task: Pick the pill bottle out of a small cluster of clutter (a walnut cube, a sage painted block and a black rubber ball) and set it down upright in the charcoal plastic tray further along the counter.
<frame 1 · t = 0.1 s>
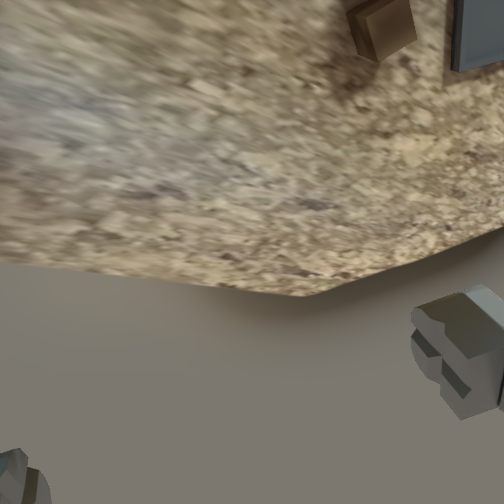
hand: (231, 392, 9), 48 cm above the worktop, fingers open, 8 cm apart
walnut cube: (370, 23, 54), on the worktop
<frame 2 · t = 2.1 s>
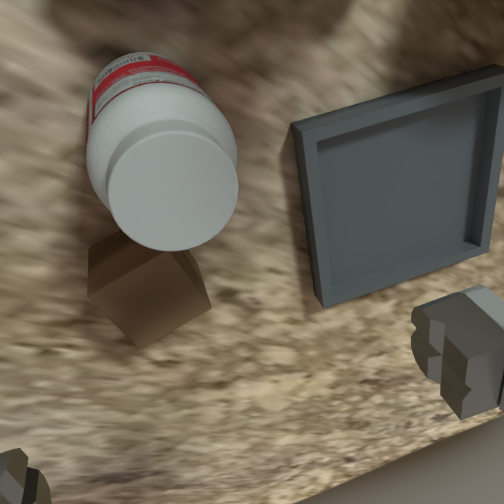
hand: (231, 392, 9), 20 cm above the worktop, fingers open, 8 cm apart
pill bottle: (146, 108, 25), on the worktop
tray: (395, 190, 33), on the worktop
walnut cube: (145, 255, 30), on the worktop
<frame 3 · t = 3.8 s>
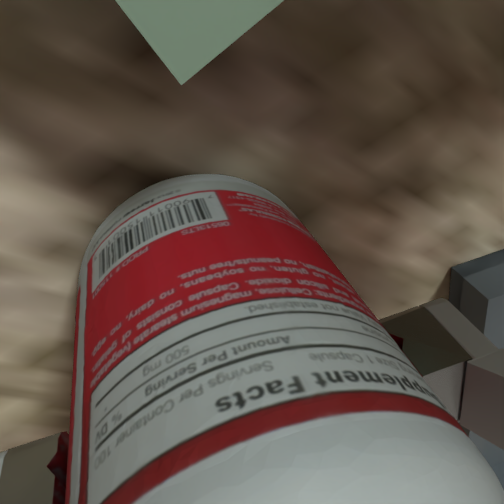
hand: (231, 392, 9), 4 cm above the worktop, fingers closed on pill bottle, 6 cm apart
pill bottle: (196, 267, 13), on the worktop, touching gripper
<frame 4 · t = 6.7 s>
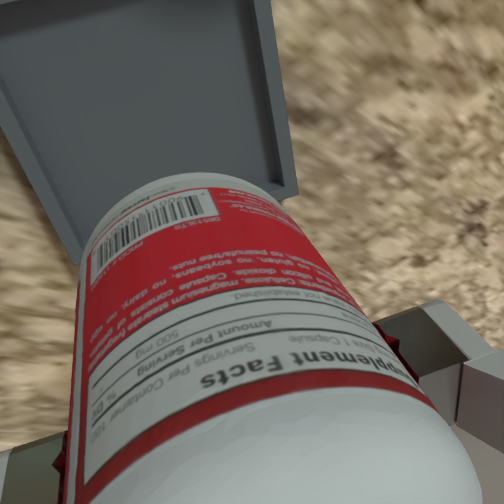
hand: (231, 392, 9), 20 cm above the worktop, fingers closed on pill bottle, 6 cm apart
pill bottle: (192, 262, 13), point 15 cm above the worktop, touching gripper
tray: (150, 106, 25), on the worktop
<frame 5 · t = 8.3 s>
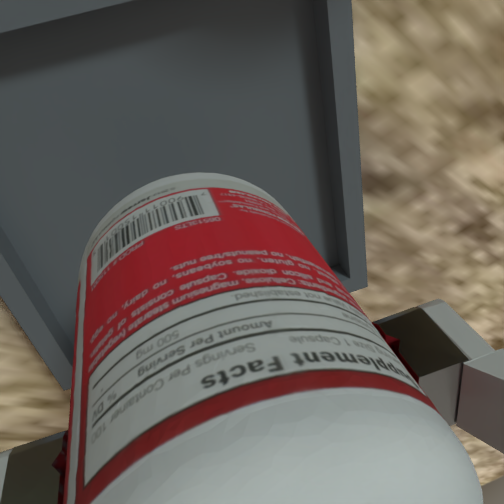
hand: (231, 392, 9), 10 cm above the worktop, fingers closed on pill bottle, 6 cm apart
pill bottle: (192, 262, 13), point 6 cm above the worktop, touching gripper
tray: (171, 178, 18), on the worktop
when the fingers open (6 cm above the worktop, at t = 9.6 s): pill bottle drops 1 cm, resting on tray.
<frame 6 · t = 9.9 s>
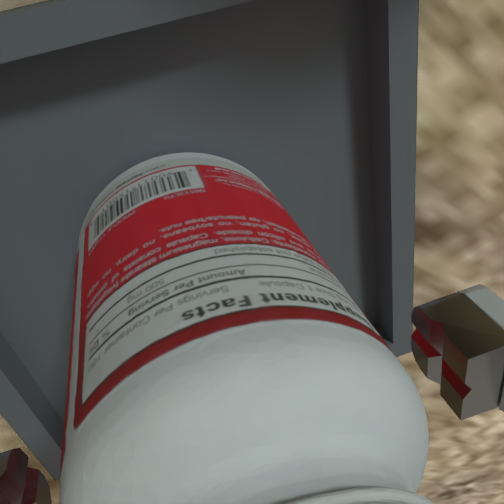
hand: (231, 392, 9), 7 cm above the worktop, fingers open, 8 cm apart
pill bottle: (183, 239, 14), resting on tray
tray: (185, 234, 15), on the worktop
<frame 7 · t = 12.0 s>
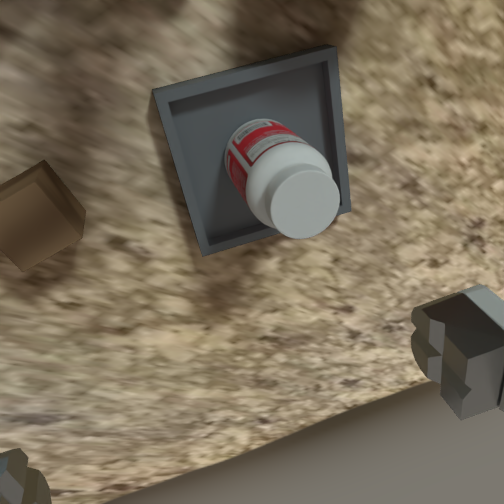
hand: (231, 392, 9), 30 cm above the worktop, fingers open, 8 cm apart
pill bottle: (258, 153, 38), resting on tray
tray: (258, 153, 39), on the worktop
walnut cube: (38, 201, 36), on the worktop
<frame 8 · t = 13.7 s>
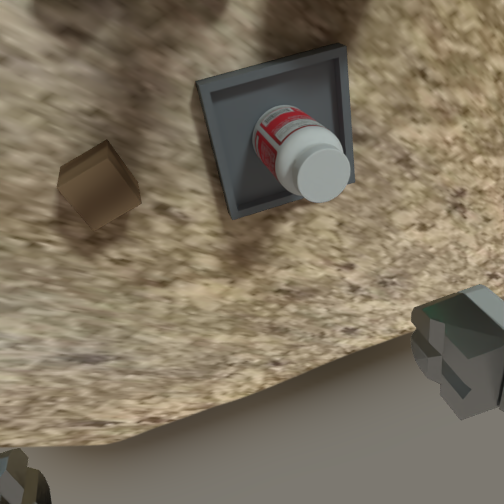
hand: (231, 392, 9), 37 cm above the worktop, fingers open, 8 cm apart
pill bottle: (279, 133, 46), resting on tray
tray: (279, 133, 47), on the worktop
walnut cube: (100, 174, 44), on the worktop
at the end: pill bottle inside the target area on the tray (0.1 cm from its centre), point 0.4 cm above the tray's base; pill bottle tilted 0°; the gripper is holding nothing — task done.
